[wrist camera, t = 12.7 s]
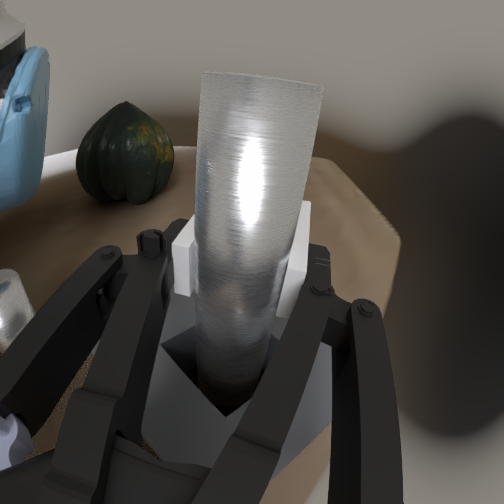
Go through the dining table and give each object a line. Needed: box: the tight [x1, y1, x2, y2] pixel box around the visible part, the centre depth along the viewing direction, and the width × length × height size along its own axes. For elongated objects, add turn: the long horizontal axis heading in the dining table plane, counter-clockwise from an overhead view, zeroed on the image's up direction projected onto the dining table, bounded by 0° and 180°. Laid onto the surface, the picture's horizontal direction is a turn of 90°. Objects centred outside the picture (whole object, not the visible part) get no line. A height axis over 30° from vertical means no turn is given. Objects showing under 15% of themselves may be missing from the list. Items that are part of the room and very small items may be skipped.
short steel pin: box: [0, 269, 36, 354], centre depth 15 cm, size 4×4×9 cm
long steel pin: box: [194, 72, 324, 408], centre depth 14 cm, size 4×4×18 cm
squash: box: [76, 101, 174, 204], centre depth 40 cm, size 14×15×15 cm
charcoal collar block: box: [91, 285, 332, 480], centre depth 18 cm, size 14×14×5 cm
